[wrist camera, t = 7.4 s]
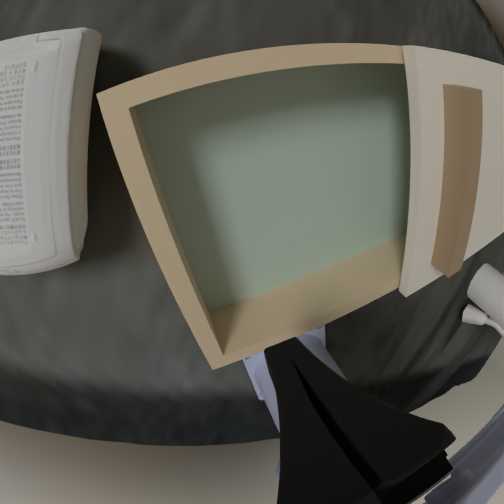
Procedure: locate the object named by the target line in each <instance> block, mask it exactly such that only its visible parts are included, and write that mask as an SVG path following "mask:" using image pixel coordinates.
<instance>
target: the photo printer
mask: <svg viewBox="0 0 504 504" xmlns="http://www.w3.org/2000/svg"><path fill="white" fill-rule="evenodd" d="M101 41H102V36H101V34H100V33H99V32H98V31H96V30H93V29H90V28H75V29H66V30H58V31H50V32H43V33H37V34H31V35H26V36H21V37H16V38H12V39H7V40H3V41H0V275H25V274H34V273H40V272H45V271H49V270H53V269H57V268H60V267H63V266H66V265H68V264H71V263H73V262H76V261H78V260H79V259H80V253H81V250H82V249H83V244H84V237H85V233H86V229H87V223H88V209H87V157H88V138H89V124H90V113H91V104H92V95H93V87H94V80H95V73H96V67H97V61H98V56H99V51H100V46H101Z"/></svg>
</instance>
